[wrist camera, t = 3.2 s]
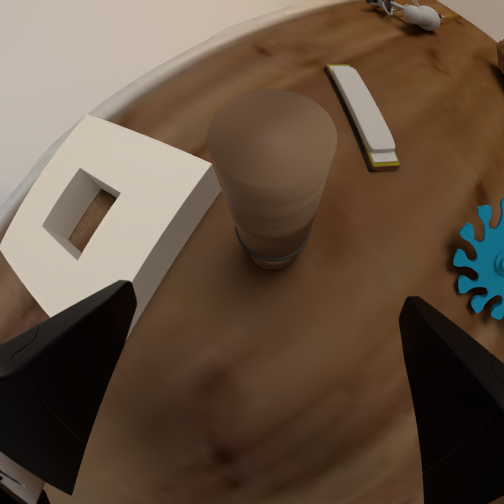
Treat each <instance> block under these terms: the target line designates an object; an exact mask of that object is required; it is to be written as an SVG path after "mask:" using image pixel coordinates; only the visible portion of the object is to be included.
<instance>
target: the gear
mask: <svg viewBox="0 0 504 504" xmlns="http://www.w3.org/2000/svg"><path fill="white" fill-rule="evenodd" d="M500 207H501V216H500V220H499V222H498V224H497V226H496V227H495V228H494V229H491V228H489V225H488V222H489V219H490V217H491V215H492V209H491V207H490V206H489V205H483V206H480V207H478V208H477V213H478V216H479V217H480V218H481V220H482V222H483V226H484V237H483V239H482V240H481V241H476V240H475V239H474V228H473V226H472V225H471V224H470V223H466V224H465V225H464V226H463V227H462V228H461V230H460V235H461V237H462V238H463V239H465V240H467V241H469V242H470V243H471V244H472V245H473V246H474V248H475V250H476V252H477V256H476V258H475V259H474V260H469V259H468V258H467V257H466V254H465V252H464V251H463V250H461V249H457V250H456V252H455V255H454V259H453V264H454V265H455V266H457V267H461V266H467V267H470V268H472V269H474V270H475V271H476V272H477V273H478V277H477V278H476V279H475V280H471V279H469V278H468V277H466V276H463V275H462V276H460V277H458V287H459V292H460V293H466V292H467V291H468V290H470V289H472V288H474V287H485V288H487V292H486V293H485V294H484V295H475V296H473V297H472V298H471V305H472V307H473V309H474V310H475V311H476V313H479V312H480V311H481V310H482V309H483V307H484V305H485V304H486V302H487V301H488V300H490V299H491V298H492V297H494V296H496V295H500V296H501V300H500V301H499V302H498V303H496V304H494V305H493V306H492V307H491V310H490V312H491V316H492V317H494V318H496V319H499V320H501V319H502V317H503V315H504V198H502V199H501V201H500Z"/></svg>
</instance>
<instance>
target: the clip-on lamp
mask: <svg viewBox="0 0 504 504" xmlns="http://www.w3.org/2000/svg"><path fill="white" fill-rule="evenodd" d="M383 1H384V0H366V2H367V3H372V4H375V5H377V7H379V8H380V7H383V8H384V10H385V11H386V13H387V14H388V15H389V16H391V15H392V13H393V11H398V10H400V9H401V10H403V15H404V17H405V19H406V20H407V21H409V22H410V23H413V24H417V25H418V26H419V27H421V28H422V29H425V30H427V31H433V30H436V29H437V28H438V27H439V26H440V18H442V17H443V18H445V17H444V16H442V15H440V14H437V12H436V11H435V10H433V9H432V8H430V7H427V6H418V3H417V2H416V0H415V2H416V4H417V6H418V7H416V5H415V2H414V0H413V2H414V5H415V6H412V5H409V4H406V5H404V6H402V5H399V4H397V3H395V2H393V0H386V1H385V2H383ZM384 4H385V5H384ZM392 6H394V7H396V8H398V9H393V8H391V7H392ZM387 9H388V10H387ZM388 11H389V12H390V11H391V14H390V13H389V12H388Z"/></svg>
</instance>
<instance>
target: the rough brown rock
mask: <svg viewBox="0 0 504 504" xmlns="http://www.w3.org/2000/svg"><path fill="white" fill-rule="evenodd" d="M497 53H498V66H499V68H500V70H501V72H502V74H503V75H504V39H503V41H500V42H499V43H498V44H497Z"/></svg>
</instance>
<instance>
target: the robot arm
mask: <svg viewBox="0 0 504 504" xmlns="http://www.w3.org/2000/svg"><path fill="white" fill-rule="evenodd" d="M136 308H137V298H136V295H135V291H134V287H133V284H132V282H131V281H129V280H118V281H116V282H114V283H113V284H111V285H109V286H107V287H105V288H103V289H101V290H99V291H98V292H96V293H94V294H92V295H90V296H88V297H87V298H85V299H83V300H81V301H79V302H77V303H76V304H74V305H72V306H70V307H68V308H67V309H65V310H63V311H61V312H59V313H58V314H56V315H54V316H52V317H50V318H49V319H47V320H45V321H43V322H42V323H41V324H38V325H36V326H35V327H33V328H31V329H29V330H28V331H26V332H24V333H22V334H20V335H18V336H17V337H15V338H13V339H11V340H9V341H7V342H5V343H3V344H1V345H0V504H50V502H49V500H48V497H47V494H46V492H45V491H44V490H43V487H44V485H45V482H47V483H48V484H50V485H52V486H54V487H55V488H57V489H59V490H61V491H63V492H65V493H67V494H69V495H72V493H73V490H74V486H75V482H76V479H77V475H78V472H79V468H80V465H81V462H82V458H83V455H84V452H85V449H86V445H87V442H88V439H89V436H90V433H91V430H92V427H93V424H94V421H95V419H96V416H97V413H98V410H99V407H100V405H101V402H102V399H103V397H104V394H105V391H106V389H107V386H108V384H109V381H110V379H111V376H112V374H113V371H114V369H115V366H116V364H117V361H118V359H119V357H120V354H121V352H122V349H123V347H124V344H125V342H126V339H127V336H128V333H129V329H130V326H131V323H132V320H133V317H134V314H135V311H136ZM399 326H400V333H401V340H402V347H403V354H404V361H405V366H406V371H407V375H408V380H409V384H410V389H411V394H412V399H413V405H414V411H415V416H416V423H417V429H418V436H419V444H420V452H421V462H422V472H423V474H422V475H423V490H424V504H504V364H503V363H502V362H501V361H500V360H499V359H497V358H496V357H495V356H494V355H493V354H492V353H490V352H489V351H488V350H487V349H486V348H484V347H483V346H482V345H481V344H480V343H478V342H477V341H476V340H475V339H473V338H472V337H471V336H470V335H468V334H467V333H466V332H465V331H463V330H462V329H461V328H460V327H458V326H457V325H456V324H455V323H453V322H452V321H451V320H449V319H448V318H447V317H446V316H444V315H443V314H442V313H440V312H439V311H438V310H436V309H435V308H434V307H432V306H431V305H430V304H428V303H427V302H426V301H424V300H423V299H422V298H420V297H418V296H409V297H407V298H406V300H405V302H404V305H403V308H402V310H401V313H400V316H399Z"/></svg>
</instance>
